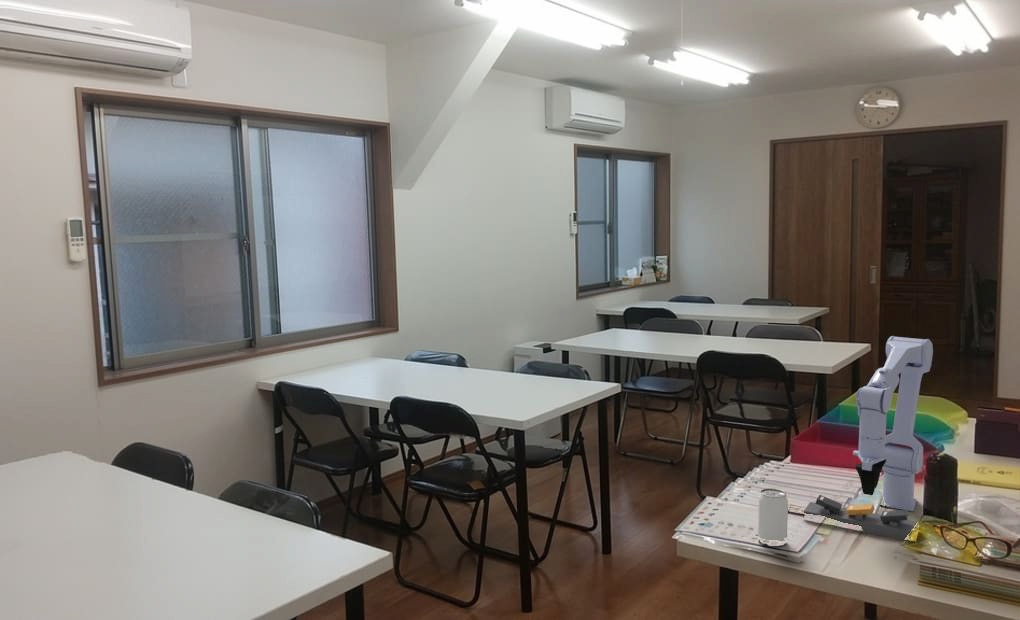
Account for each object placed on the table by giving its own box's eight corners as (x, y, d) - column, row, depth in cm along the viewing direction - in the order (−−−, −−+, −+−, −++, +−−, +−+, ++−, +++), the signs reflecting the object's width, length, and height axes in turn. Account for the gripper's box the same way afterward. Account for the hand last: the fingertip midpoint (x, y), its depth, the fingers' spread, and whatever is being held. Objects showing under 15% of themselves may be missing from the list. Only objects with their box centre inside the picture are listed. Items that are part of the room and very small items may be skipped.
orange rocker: (850, 512, 186) (848, 505, 186) (874, 511, 183) (873, 503, 183) (848, 517, 183) (846, 510, 183) (872, 516, 180) (870, 508, 180)
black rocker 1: (817, 500, 190) (819, 494, 190) (840, 510, 187) (842, 504, 187) (814, 505, 187) (816, 499, 187) (837, 515, 184) (839, 508, 184)
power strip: (789, 507, 196) (790, 494, 196) (919, 531, 179) (920, 517, 179) (783, 516, 190) (783, 503, 190) (916, 542, 174) (917, 528, 173)
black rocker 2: (884, 518, 182) (882, 511, 182) (909, 517, 179) (907, 510, 179) (882, 523, 179) (880, 516, 179) (907, 522, 176) (905, 515, 176)
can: (788, 548, 172) (790, 498, 170) (759, 546, 173) (760, 497, 172) (784, 536, 178) (785, 488, 177) (756, 535, 180) (757, 487, 178)
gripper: (859, 426, 188) (856, 478, 189) (848, 441, 176) (846, 496, 178) (890, 430, 184) (887, 483, 186) (882, 446, 172) (879, 502, 174)
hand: (869, 490), depth 181 cm, fingers open, 5 cm apart
